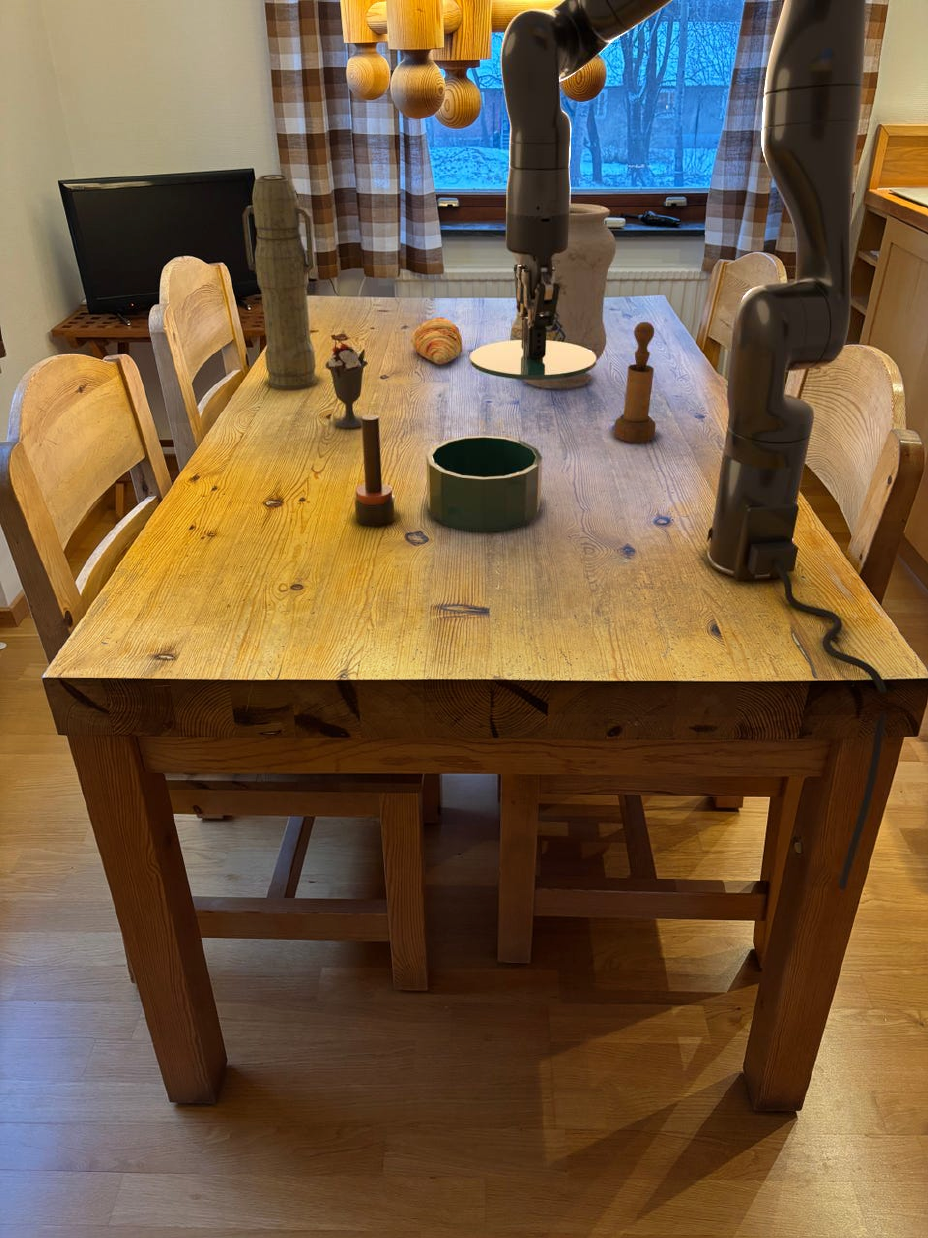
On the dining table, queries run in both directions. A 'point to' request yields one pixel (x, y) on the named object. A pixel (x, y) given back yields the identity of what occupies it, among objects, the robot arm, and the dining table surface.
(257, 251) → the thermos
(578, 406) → the dining table surface
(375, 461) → the brush
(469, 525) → the pot
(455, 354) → the croissant
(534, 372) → the lid
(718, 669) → the dining table surface
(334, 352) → the sundae
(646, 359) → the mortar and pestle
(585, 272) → the vase
